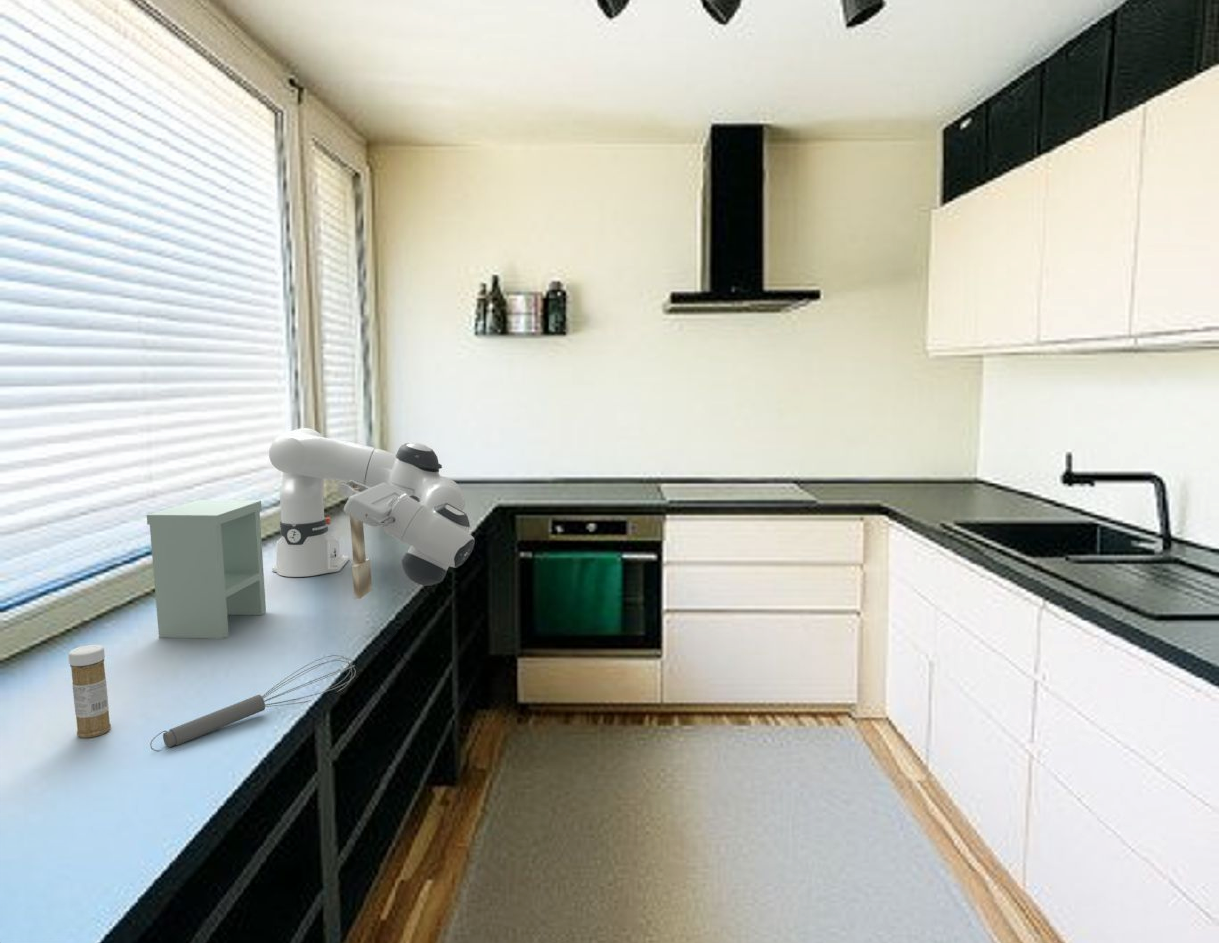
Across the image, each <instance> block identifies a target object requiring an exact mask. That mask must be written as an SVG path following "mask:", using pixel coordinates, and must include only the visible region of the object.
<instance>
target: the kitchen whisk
mask: <svg viewBox="0 0 1219 943" xmlns="http://www.w3.org/2000/svg"><path fill="white" fill-rule="evenodd" d="M330 657H339V658H334V659H331V660H328V661H325V662H322V663H319V664H316V665H314V666H311V667H309V668H307V669H304V668H305V667H307V666H309V665H311V664H313V663H315V662H317V661H320V660H323V659H326V658H330ZM340 659H345V661H344V660H340ZM331 662H343V663H346V664H348V665H349V666H348V667H347V666H346V667H345V668H341V669H338V670H336V671H333V672H331V673H329V674H325V675H323V676H320V677H318V678H315V679H313V680H311V681H308V682H306V683H303V684H301V685H299V686H295V687H293V688H290V689H288V690H286V691H283V692H281V693H278V694H277V695H274V696H272V697H269V698H267V697H268V696H269V695H271V694H273V693H274V692H276V691H278V690H279V689H281V688H283V687H285V686H286V685H287V684H289V683H291V682H292V681H294V680H296V679H297V678H300V677H302V676H304V675H305V674H306V673H307V674H308V673H309V672H311V671H313V670H314V669H316V668H318V667H321V666H323V665H326V664H328V663H331ZM302 669H304V670H303V671H301V670H302ZM346 670H349V671H348V673H347V674H346V676H345V677H344V678H343V679H342V680H340V681H339V682H337V683H336V684H335V685H333V686H331V687H329V689H327V690H324V691H322V692H318V693H314V694H310V695H306V696H302V697H297V698H293V699H287V700H283V701H278V702H272V703H266V702H268V701H270V700H273V699H276V698H278V697H281V696H284V695H286V694H288V693H291V692H294V691H297V690H299V689H301V688H303V687H304V688H305V687H307V686H309V685H311V684H315V683H317V682H319V681H321V680H324V679H327V678H329V677H332V676H334V675H337V674H339V673H341V672H344V671H346ZM353 670H354V674H353ZM299 671H301V672H299ZM297 672H299V673H297ZM296 673H297V674H296ZM350 673H351V675H350ZM356 673H357V671H356V669H355V664H354V665H353V662H352V660H351V659H350V658H348V657H344V656H343V655H337V654H333V655H332V654H331V655H327V656H323V657H321V658H319V659H318V658H317V659H315V660H314V661H311V662H310V663H308V664H306V665H304V666H302V667H301V668H299V669H297V670H296V671H294V672H292V673H291V674H289V675H287V677H285V678H284V679H282V680H281V681H280V682H278V683H277V684H276V685H274V686H273V687H271V688H270V689H269V690H268V691H266V692H265V693H264V694H263V695H261V694H256V695H254V696H252V697H248V698H247V699H244V700H242V701H239V702H236V703H234V704H231V705H229V706H226V707H223V708H221V709H219V710H216V711H214V712H211V713H208V714H205V715H203V716H201V717H198V718H195V719H193V720H190V721H188V722H185V723H183V724H180V725H178V726H175V727H172V728H169V730H168V731H167V730H163V731H161V732H159V733H158V734H156V735H155V736H154V737H153V738H152V740H150V744H149V746H150V749H151V750H153V751H155V752H161V751H163V750H162V749H160V750H159V749H154V748H153V746H152V744H153V741H154V740H155V738H157V737H158V736H160V735H161V734H162V738H163V743H164V745H165V746H166V747H167V748H168V749H169V748H172V747H174V746H175V747H177V746H181V745H182V744H185V743H188V742H191V741H192V740H194V739H197V738H199V737H202V736H204V735H208V734H209V733H212V732H214V731H217V730H219V729H221V728H224V727H227V726H229V725H231V724H235V723H237V722H238V721H241V720H243V719H244V720H245V719H246V718H248V717H251V716H254V715H256V714H258V713H260V712H263V711H265V710H266V708H269V707H279V706H288V705H296V704H302V703H307V702H312V699H311V700H306V701H300V702H293V701H298V700H300V699H304V698H309V697H312V696H317V695H319V694H323V693H326V692H329V691H333V690H335V689H338V688H340V687H342V688H340V689H339V690H337V691H336V692H340V691H342V690H343V689H344V688H346V687H347V686H348V685H349V684H350V682H351V681H352V680H353V679H354V677H356ZM294 674H296V675H294ZM292 675H294V676H292ZM349 675H350V678H349V680H348V681H346V682H344V683H342V682H343V681H344V680H345V679H346V678H347V677H348V676H349ZM291 676H292V677H291ZM288 678H289V679H288ZM283 681H284V682H283ZM340 683H342V684H340ZM339 684H340V685H339ZM266 698H267V699H266ZM286 702H287V703H286ZM288 702H293V703H288ZM283 703H286V704H283Z"/></svg>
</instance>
